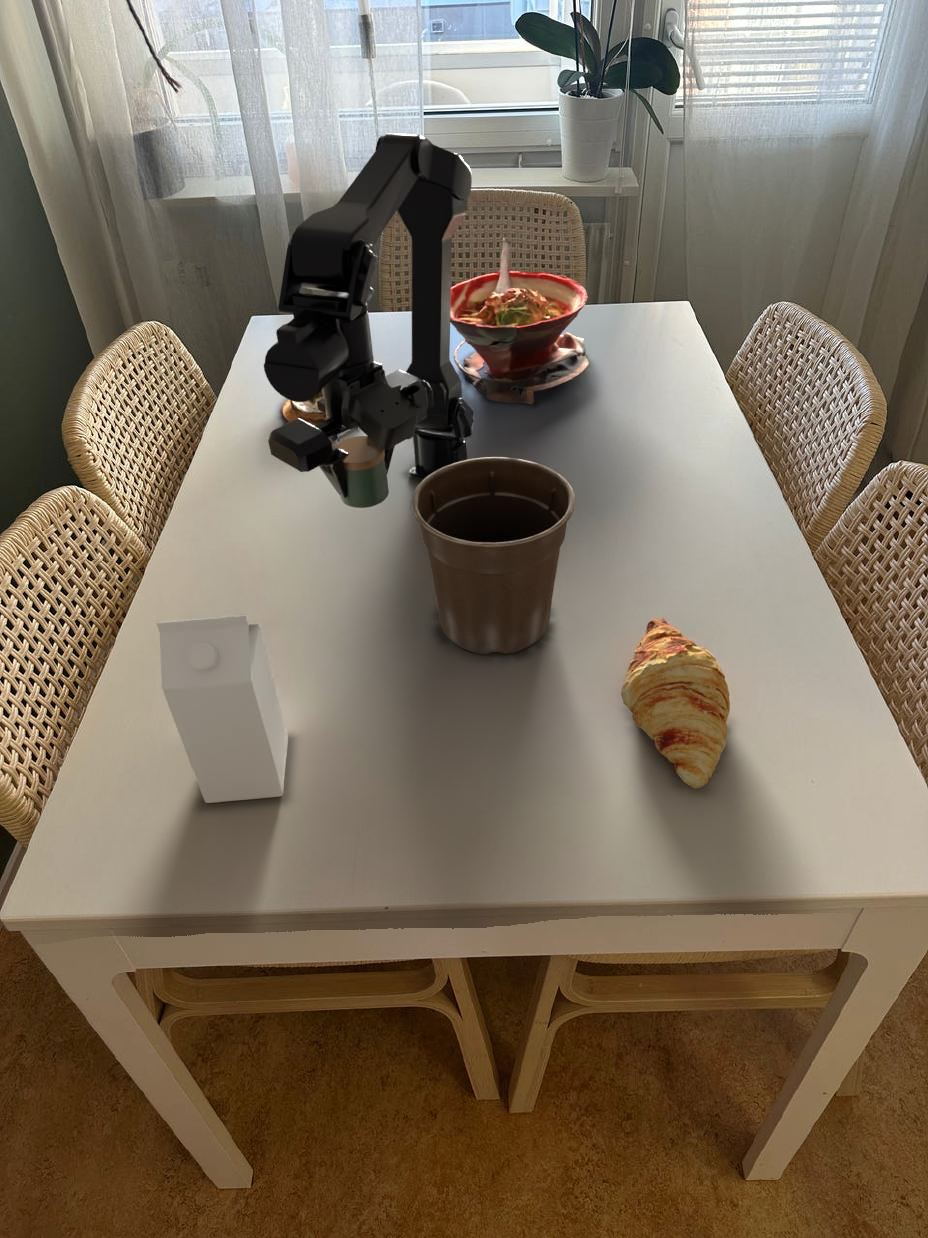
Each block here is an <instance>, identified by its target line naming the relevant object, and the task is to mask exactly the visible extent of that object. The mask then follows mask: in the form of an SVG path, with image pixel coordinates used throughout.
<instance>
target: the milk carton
mask: <svg viewBox="0 0 928 1238" xmlns="http://www.w3.org/2000/svg"><path fill="white" fill-rule="evenodd" d="M156 627H157V629H158V633H159V649H160V675H161V689H162V691H163V694H164V698H165V700H166V702H167V706H168V708H169V711H170V713H171V717H172V718H173V721H174V723H175V726H176V729H177V733H178V734H179V737H180V739H181V742H182V745H183V748H184V751H185V753H186V755H187V758H188V761H189V764H190V767H191V769H192V771H193V774H194V777H195V780H196V782H197V785H198V787H199V790H200V793H201V795H202V799H203V801H204V803H206V804H210V803H211V804H214V803H222V802H223V803H225V802H234V801H245V800H246V801H247V800H256V799H268V798H269V799H270V798H279V797H282V796H283V795H284V791H285V790H284V787H285V777H286V766H287V755H288V745H289V744H288V743H289V736H288V731H287V727H286V724H285V719H284V716H283V715H284V714H283V712H282V708H281V704H280V700H279V696H278V692H277V689H276V684H275V681H274V680H275V679H274V676H273V672H272V669H271V668H272V667H271V665H270V662H269V661H270V660H269V657H268V653H267V649H266V645H265V642H264V641H265V640H264V638H263V633H262V629H261V626H260V624H259V623H250V624H249V621H248V617H247V615H246V613H245V614H233V615H232V614H231V615H221V616H210V617H196V618H185V619H173V620H163V621H161V620H160V621H156Z"/></svg>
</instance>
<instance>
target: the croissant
mask: <svg viewBox="0 0 928 1238" xmlns="http://www.w3.org/2000/svg"><path fill="white" fill-rule="evenodd" d="M645 632H646V633H645V635H644V636H643V637H642V638H641V639H640V642H638V644H637V646H636V647H635V650H634V651H633V652H634V654H635V655H634V656H633V658H632V660H631V661H630V663H629V666H628V667H627V671H626V680H625V681H624V683H623V684H622V687H621V690H620V694H621V697H622V702H623V703H622V704H623V705H625V707H627V709H628V710H629V712H631V714H632V720H633V721H634V722H635V724H636V726H637V727H638V728H639V729H642V730H643V731H644V732H645V734H646V735H647V736H649V738H650V740H654V744H655V745H654V746H655V748H656V749H657V751H658V752H659V754H661V756H664V757H665V758H666V759H667V760H668V761H669V763H672V764H673V765H674V766H673V768H674V769H675V772H676V775H677V776H678V777H679V778H680V779H681V781H682V782H684V784H685V785H688V786H689V787H691V788H693V789H701V788H703V787H704V786H705V785H706V784H708V782H709V779H710V778H711V777H712V776H713V773H714V772H715V770H716V766H717V765H718V763H719V760H720V759H721V755H722V751H724V749H725V747H726V744H727V739H728V724H727V721H728V718H729V715H730V710H731V703H730V692H729V686H728V683H727V681H726V676H725V674H724V673H723V670H722V667H721V666H720V664H719V663H718V661H717V659H716V658H715V657H714V655H713V654H712V653H711V652H710V651H709V650H708V649H706V648H705V647H703V646H698V645H697V644H696V642H694V640H692V639H690V638H688V637H685V636H684V634H683V633H682V632H681V631H680V630H679V629H677V628H676V627H674V626H672V625H670V624H669V623H668V622H667V621H666V619H665V618H664V617H660V618H652V619H651V620H650V621H649V622H648V623H647V625H646V631H645Z"/></svg>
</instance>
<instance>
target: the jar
mask: <svg viewBox="0 0 928 1238" xmlns="http://www.w3.org/2000/svg"><path fill="white" fill-rule="evenodd" d="M338 443H339V449H341V450H343V451H345V452H347V453H349V455H348V456H347V458H346V459H345V460H344V461H343V463H344V469H345V475H346V481H347V491H348V496H347V497H346V498H343V497H342V496H340V495H339V498H340V500H341V502H342V504H344V505H346V506H348V507H351V508H358V509H365V508H372V507H375V506H378V505H379V504H381V503H383V502H384V501H385V500H387V498H388V496H389V494H390V490H389V480H388V473H387V472H386V463H385V450H382V449H380V448H378V447H377V446H376V445H375V444H374V442H373V441H372V440H371V439H370V438H369V437H368V436H367V435H356V436H355V435H354V436H349V437H347V438H344V439H341V440H340V441H338Z"/></svg>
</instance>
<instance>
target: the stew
mask: <svg viewBox="0 0 928 1238" xmlns="http://www.w3.org/2000/svg"><path fill="white" fill-rule="evenodd" d="M511 244H512V241H511V240H507V239H505V238H503V244H502V251H501V254H500V269H499V271H496V272H495V273H488V274H484V275H480V276H476V277H473V278H472V279H469V280H465V281H462V282H459V283H457V284H456V285H454V286H451V308H450V324H451V325H452V326H453V327H454V328H455V329H456V331H457V333H459V335H461V337H463V339H464V340H463V341H462V342H460V343H459V344H458V345H457V347H456V349H455V350H454V353H453V361H454V364H455V365H456V366H457V367H458V369H459V370H460V371H461V372H462V373H463V374H464V375H465V376H466V379H467V381H469V383H471V384H472V385H473V386H474V388H476V389H477V390H478V391H479V392H480V393H482V394H485V395H486V399H488V400H490V401H495V402H505V403H516V404H517V403H524V404H529V405H534V397H535V396H534V392H538V391H543V390H546V389H550V388H554V387H557V386H559V385H561V384H563V383H566V382H568V381H570V380H573V379H574V378H575V377H577V376H578V375H580V374H581V373H582V372H583V371H584V370H585V369H586V368H587V367H588V365H589V364H590V362H589V360H588V357H587V353H586V345H585V343H584V341H585V339H584V338H582V337H576V336H575V335H573V334H571V333H570V332H565V333H563V332H564V331H565V330H566V329H567V328H568V327H569V326H570V324H571V323H572V322H573V321H574V320H575V319H576V318H577V317H578V315H579V313H580V311H581V310H582V309H583V308H584V307H585V305H586V303H587V302H588V293H587V290H586V289H585V287H584V286H582V285H581V284H580V283H579V282H578V281H576V280H575V279H573V278H569V277H567V276H566V275H561V274H554V273H548V272H545V271H544V272H543V271H525V272H523V271H511V270H510V257H511V252H510V250H511ZM562 333H563V334H562ZM465 343H467V345H469V346H471V347H472V349H474V351H476V352H474V353H472V354H471V355H470V356H469V357H468V358H463V366H462V365H461V364H460V362H459V361H458V360H457V357H458V349H459V348H460V347H461V346H463V345H464V344H465ZM484 363H485V364H486V365H487V367H488V368H487V369H485V370H484V371H483V372H484V373H486V374H487V376H489V377H491V378H489V379H488V378H483V377H482V374H480V373H479V370H480V369H482V368H484ZM513 389H515V390H513ZM520 389H522V392H521V394H520Z"/></svg>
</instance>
